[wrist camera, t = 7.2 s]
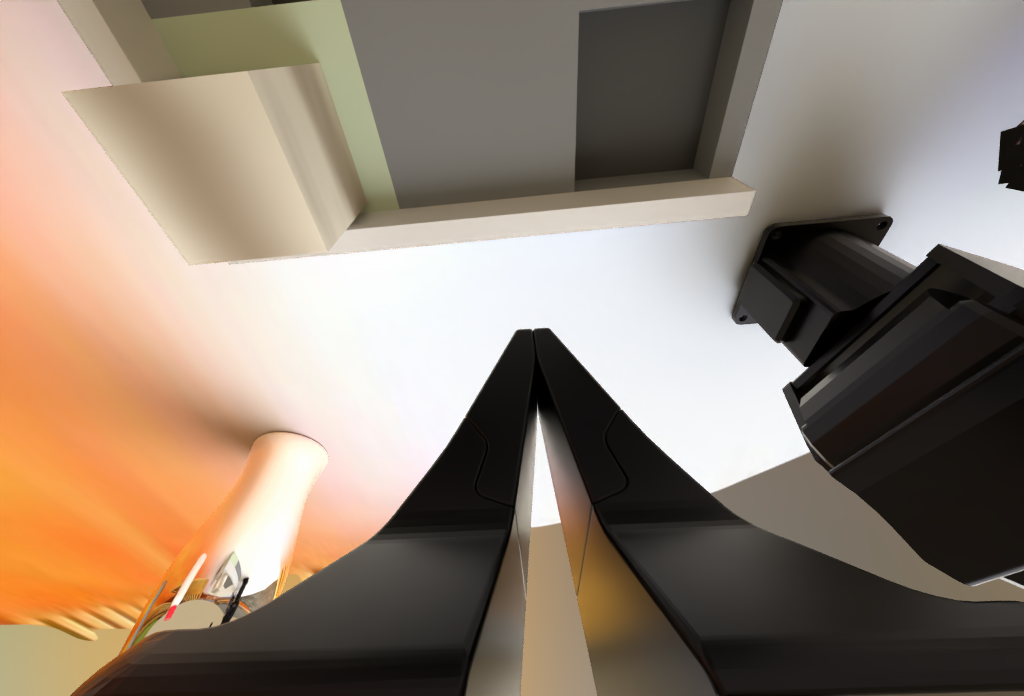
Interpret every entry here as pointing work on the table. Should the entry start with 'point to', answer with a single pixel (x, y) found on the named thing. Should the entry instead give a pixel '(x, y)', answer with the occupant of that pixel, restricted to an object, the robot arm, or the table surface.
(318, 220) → the ivory block
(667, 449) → the table surface
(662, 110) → the trap deck
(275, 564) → the beer glass
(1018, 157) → the decorative flower
